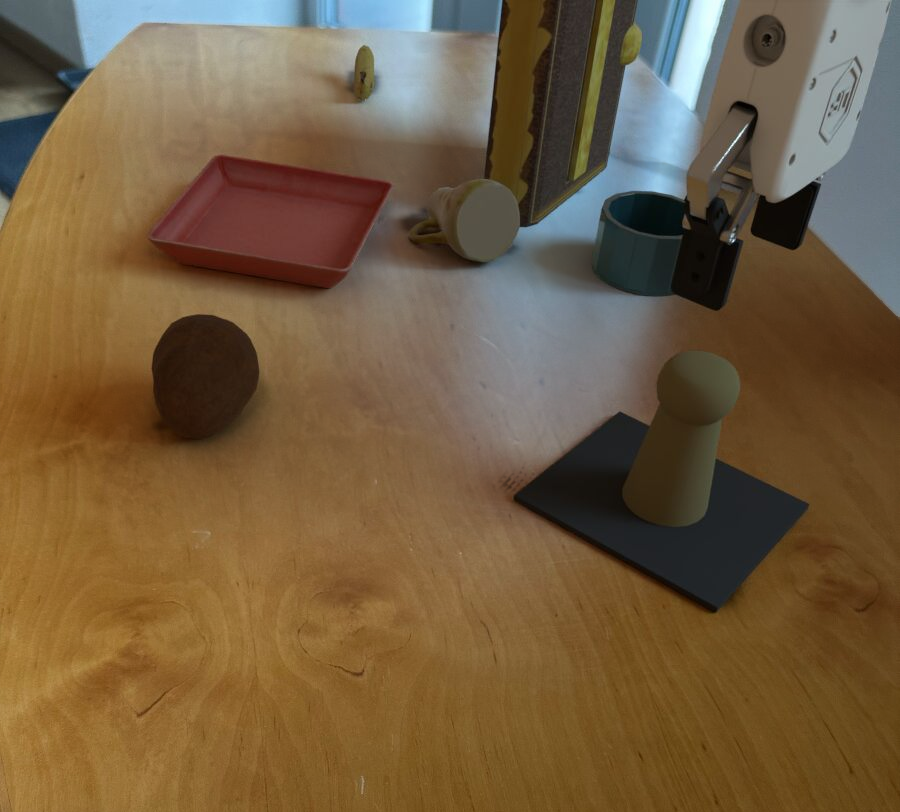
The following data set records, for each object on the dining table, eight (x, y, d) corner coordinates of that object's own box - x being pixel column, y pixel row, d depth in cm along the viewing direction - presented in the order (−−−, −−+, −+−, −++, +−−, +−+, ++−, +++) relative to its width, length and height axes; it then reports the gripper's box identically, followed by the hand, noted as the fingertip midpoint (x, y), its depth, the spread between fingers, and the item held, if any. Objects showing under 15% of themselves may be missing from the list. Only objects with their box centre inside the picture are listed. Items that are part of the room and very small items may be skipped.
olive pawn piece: (687, 539, 69) (733, 402, 61) (607, 503, 71) (641, 367, 63) (720, 493, 72) (766, 359, 65) (643, 461, 74) (679, 327, 67)
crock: (711, 271, 97) (726, 215, 93) (660, 307, 92) (675, 249, 88) (625, 236, 101) (637, 181, 97) (572, 269, 95) (582, 212, 91)
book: (539, 233, 100) (582, -63, 82) (463, 208, 102) (490, -84, 85) (625, 162, 114) (679, -104, 96) (557, 142, 116) (597, -121, 99)
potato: (144, 454, 71) (127, 356, 66) (170, 376, 78) (157, 281, 73) (250, 460, 72) (242, 364, 66) (267, 382, 79) (261, 288, 73)
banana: (355, 77, 126) (355, 42, 123) (375, 79, 126) (375, 44, 123) (351, 108, 119) (352, 71, 116) (372, 109, 119) (373, 73, 116)
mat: (807, 509, 73) (810, 503, 72) (715, 613, 65) (717, 607, 64) (618, 416, 79) (619, 410, 79) (512, 500, 71) (513, 494, 71)
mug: (461, 214, 102) (513, 142, 94) (487, 297, 99) (541, 231, 91) (396, 205, 98) (443, 129, 90) (420, 291, 95) (471, 221, 87)
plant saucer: (348, 304, 88) (349, 268, 85) (147, 271, 89) (142, 235, 87) (394, 214, 100) (396, 181, 98) (218, 186, 102) (215, 153, 99)
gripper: (833, -20, 41) (724, 353, 53) (975, -85, 50) (856, 242, 63) (670, -61, 44) (603, 301, 56) (835, -116, 53) (747, 202, 66)
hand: (737, 269), depth 59 cm, fingers open, 9 cm apart
